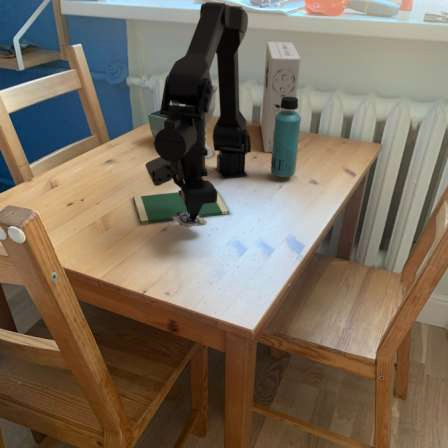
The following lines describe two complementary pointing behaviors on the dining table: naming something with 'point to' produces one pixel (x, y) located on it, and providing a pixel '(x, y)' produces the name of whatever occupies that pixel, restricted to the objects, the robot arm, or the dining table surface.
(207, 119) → the chalice
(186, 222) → the blueberries
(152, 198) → the green flat rectangular block
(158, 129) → the flower pot
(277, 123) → the beverage bottle
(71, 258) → the dining table surface
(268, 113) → the cereal box
